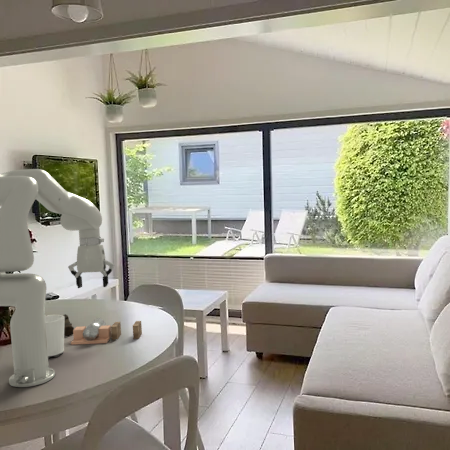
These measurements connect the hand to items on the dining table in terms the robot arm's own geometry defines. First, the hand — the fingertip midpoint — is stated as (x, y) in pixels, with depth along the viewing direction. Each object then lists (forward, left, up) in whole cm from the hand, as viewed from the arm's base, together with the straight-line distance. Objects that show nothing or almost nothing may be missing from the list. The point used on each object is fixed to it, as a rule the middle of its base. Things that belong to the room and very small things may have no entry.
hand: (92, 287), depth 173 cm
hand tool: (+10, +15, -19) cm, 27 cm away
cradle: (-4, 0, -19) cm, 19 cm away
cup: (-19, +9, -19) cm, 29 cm away
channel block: (-3, -13, -19) cm, 23 cm away
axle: (-3, 0, -18) cm, 18 cm away
